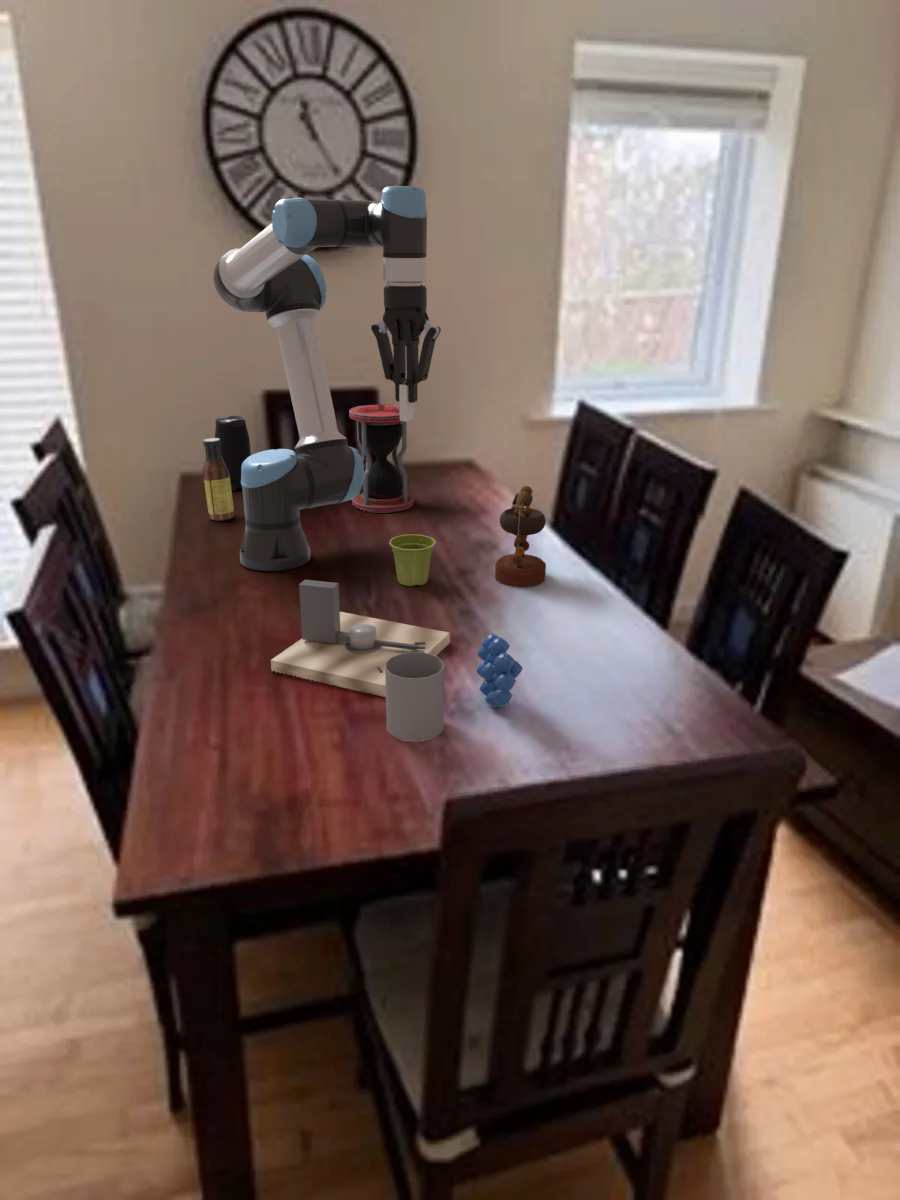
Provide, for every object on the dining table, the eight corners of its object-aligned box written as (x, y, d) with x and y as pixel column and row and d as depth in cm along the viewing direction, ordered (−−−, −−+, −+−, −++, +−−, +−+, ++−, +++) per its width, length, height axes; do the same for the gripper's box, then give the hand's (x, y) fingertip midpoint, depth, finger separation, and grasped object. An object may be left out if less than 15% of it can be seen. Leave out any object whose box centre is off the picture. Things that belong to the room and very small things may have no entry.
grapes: (535, 721, 129) (538, 647, 125) (491, 727, 127) (493, 653, 123) (508, 685, 140) (511, 616, 135) (468, 690, 138) (469, 620, 133)
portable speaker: (254, 490, 245) (248, 420, 237) (219, 493, 242) (212, 421, 235) (252, 482, 252) (246, 414, 245) (218, 485, 250) (211, 415, 242)
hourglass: (425, 502, 235) (425, 408, 226) (389, 517, 223) (387, 418, 213) (377, 493, 243) (374, 401, 234) (339, 507, 231) (335, 411, 221)
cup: (386, 713, 131) (384, 652, 127) (441, 711, 132) (441, 651, 128) (387, 743, 123) (385, 680, 120) (445, 741, 124) (446, 677, 120)
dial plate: (271, 671, 144) (270, 658, 143) (340, 621, 162) (340, 610, 161) (391, 698, 135) (391, 685, 134) (449, 643, 154) (449, 631, 153)
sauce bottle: (239, 516, 223) (232, 437, 215) (225, 522, 217) (218, 443, 210) (216, 513, 225) (209, 435, 217) (202, 520, 219) (194, 440, 212)
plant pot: (443, 577, 183) (443, 538, 180) (423, 592, 176) (422, 551, 172) (403, 570, 187) (402, 531, 184) (381, 585, 179) (380, 545, 176)
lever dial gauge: (421, 644, 148) (421, 589, 144) (413, 656, 144) (413, 599, 140) (310, 631, 152) (307, 577, 148) (300, 641, 148) (296, 586, 144)
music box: (551, 590, 177) (547, 494, 170) (496, 594, 178) (490, 498, 170) (544, 563, 191) (540, 474, 184) (493, 567, 192) (488, 478, 184)
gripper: (448, 284, 154) (447, 419, 163) (382, 282, 159) (384, 413, 168) (429, 286, 148) (430, 426, 157) (361, 284, 153) (365, 420, 162)
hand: (406, 419), depth 162 cm, fingers closed
